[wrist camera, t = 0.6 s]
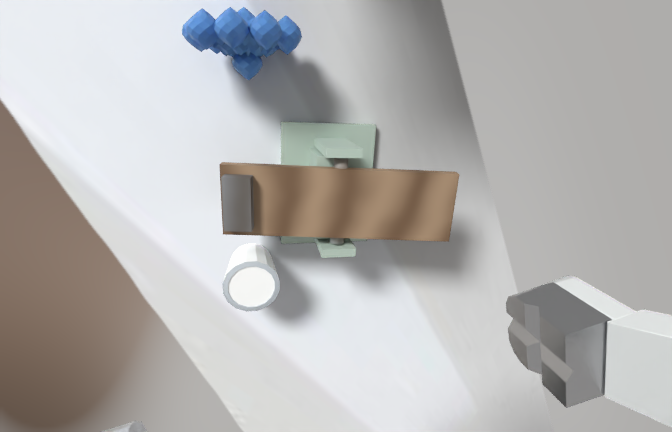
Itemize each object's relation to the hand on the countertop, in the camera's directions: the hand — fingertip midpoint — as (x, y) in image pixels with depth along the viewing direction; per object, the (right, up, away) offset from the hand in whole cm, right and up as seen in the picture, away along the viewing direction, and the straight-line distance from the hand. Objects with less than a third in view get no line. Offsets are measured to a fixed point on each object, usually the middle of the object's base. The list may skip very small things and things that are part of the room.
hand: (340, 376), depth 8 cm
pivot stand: (-1, +8, +43) cm, 44 cm away
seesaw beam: (0, +5, +36) cm, 36 cm away
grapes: (-10, +23, +36) cm, 44 cm away
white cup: (-12, -3, +45) cm, 46 cm away
